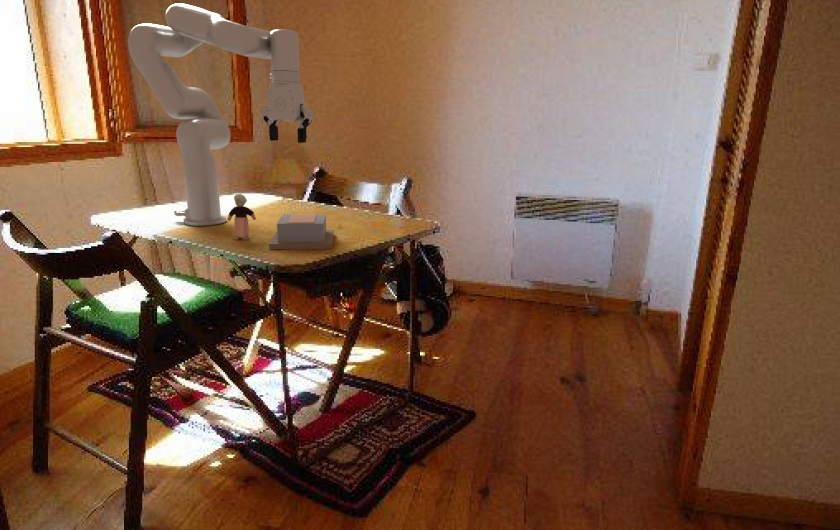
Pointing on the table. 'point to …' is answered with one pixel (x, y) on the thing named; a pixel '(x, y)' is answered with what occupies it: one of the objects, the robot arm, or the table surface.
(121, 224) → the table surface
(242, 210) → the grandmother figurine
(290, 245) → the plinth
